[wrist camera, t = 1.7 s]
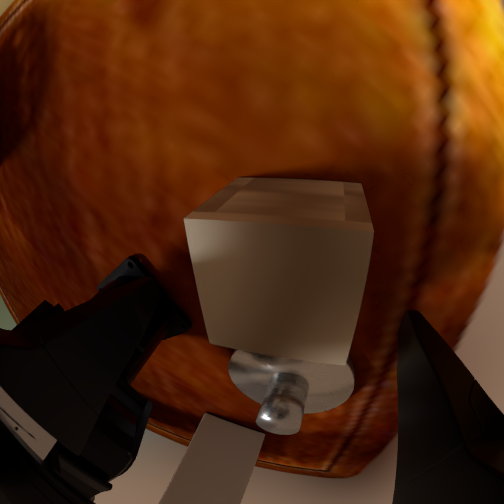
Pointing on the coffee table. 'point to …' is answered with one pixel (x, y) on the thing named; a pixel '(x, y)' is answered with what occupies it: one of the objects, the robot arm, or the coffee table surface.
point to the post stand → (289, 387)
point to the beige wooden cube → (282, 266)
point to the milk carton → (215, 464)
